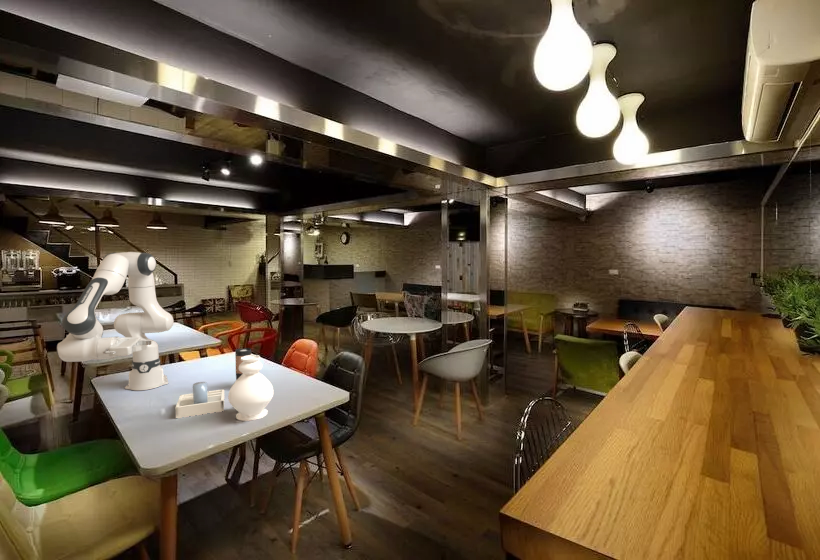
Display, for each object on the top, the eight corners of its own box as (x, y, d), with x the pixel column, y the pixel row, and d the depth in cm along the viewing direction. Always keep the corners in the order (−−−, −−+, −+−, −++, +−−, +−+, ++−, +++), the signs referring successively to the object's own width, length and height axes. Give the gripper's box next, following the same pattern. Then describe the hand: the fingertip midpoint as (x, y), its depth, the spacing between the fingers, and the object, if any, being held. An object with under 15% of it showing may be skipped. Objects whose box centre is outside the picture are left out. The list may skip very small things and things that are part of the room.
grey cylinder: (194, 407, 167) (193, 382, 166) (208, 405, 169) (207, 381, 169) (193, 411, 162) (192, 386, 161) (207, 409, 164) (206, 384, 164)
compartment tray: (180, 405, 172) (180, 395, 172) (224, 398, 180) (224, 389, 180) (175, 418, 158) (175, 407, 158) (223, 411, 165) (223, 400, 165)
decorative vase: (228, 426, 150) (226, 365, 149) (229, 410, 167) (228, 354, 165) (275, 419, 157) (274, 360, 156) (272, 404, 174) (271, 350, 172)
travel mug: (246, 390, 191) (245, 351, 190) (232, 389, 193) (231, 351, 191) (255, 385, 198) (254, 348, 197) (242, 384, 200) (241, 347, 199)
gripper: (100, 345, 146) (143, 342, 152) (115, 335, 165) (153, 333, 171) (101, 361, 147) (144, 357, 152) (116, 350, 165) (153, 347, 171)
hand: (149, 344), depth 162 cm, fingers open, 8 cm apart
